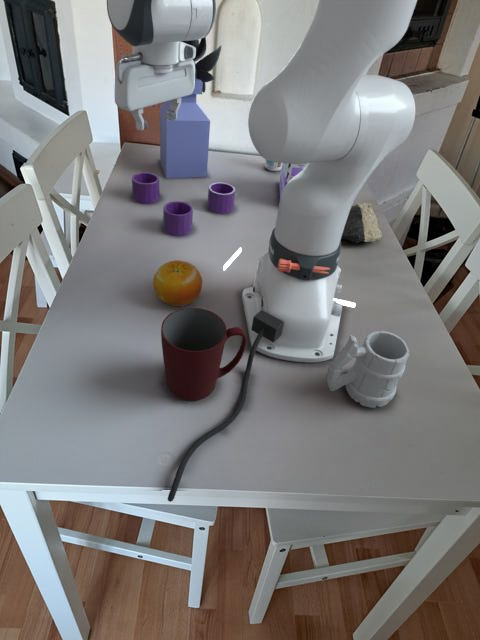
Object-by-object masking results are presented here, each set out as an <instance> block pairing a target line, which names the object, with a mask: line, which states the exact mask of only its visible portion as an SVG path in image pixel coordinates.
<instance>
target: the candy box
mask: <svg viewBox="0 0 480 640" xmlns="http://www.w3.org/2000/svg"><path fill="white" fill-rule="evenodd" d="M307 164H308V163H306V164H288V163H282V168H281V169H280V175H279V182H278V187H279V196H280V197H281V193H282V191H283V189H284V187H285V185H286V184H287V183H288V182H289V181H290V180H291V179H292V178H293V177H294V176H296V175H297V174H298V173H300V172H301V171H302V170H303V169H304V168H305V167H306V166H307Z"/></svg>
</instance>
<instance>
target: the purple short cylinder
mask: <svg viewBox="0 0 480 640" xmlns="http://www.w3.org/2000/svg"><path fill="white" fill-rule="evenodd" d="M235 196H236V188H235V187H234V185H232V184H230V183H227V182H221V181H220V182H213V183H211V184H209V185H208V191H207V209H208V210H209V212H211V213H214V214H218V215H226V214H230V213H231V212H233V211H234V208H235V207H234V205H235V199H236V198H235Z"/></svg>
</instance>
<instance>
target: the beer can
mask: <svg viewBox="0 0 480 640" xmlns="http://www.w3.org/2000/svg"><path fill="white" fill-rule="evenodd" d="M282 164H283V163H280V162H274V161H268V160H266V159H265V162H264V168H265V169H267V170H268V171H270V172H278V171H281V169H282Z"/></svg>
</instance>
